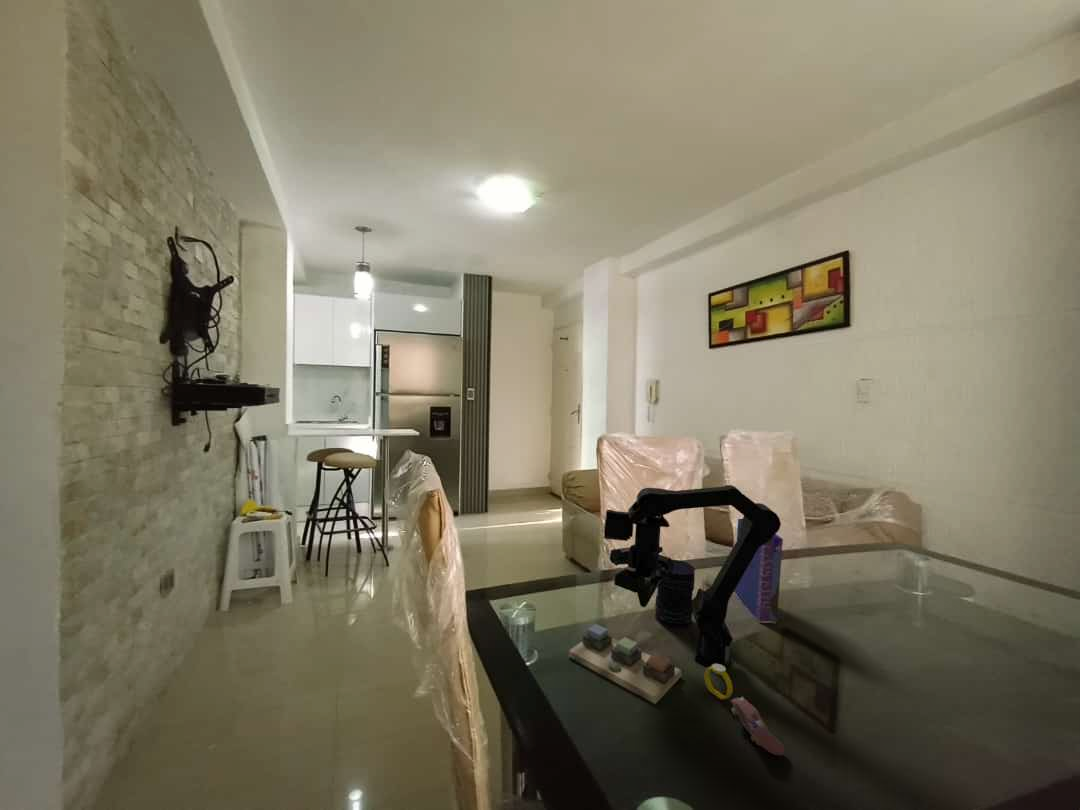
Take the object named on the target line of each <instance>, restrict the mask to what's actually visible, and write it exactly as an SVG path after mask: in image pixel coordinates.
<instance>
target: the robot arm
mask: <svg viewBox="0 0 1080 810" xmlns="http://www.w3.org/2000/svg"><path fill="white" fill-rule="evenodd" d="M723 506H731V507H732V508H734V509H735V510H736V511H738V512H739V513H741V515H743V517H742V519H743V520H742V523H741V530H740V536H739V538H738V540H737V539H736V541H735V543H734V545H733V547H732V549H731V550H730V552H729V554H728V555H727V558H726V560H725V561H724V563H723V565H722V567H721V568H720V570H719V571H718V573H717V575H716V577H715V578H714V580H713V582H712V584H711V586H710V587H709V588H708V589H705V590H703V589H702V588H701V587H699V588H698V589H697V593H696V595H695V596H694V598H692V600H691V602H692V604H693V605H692V612H693V614H692V616H693V618H694V621H695V624H696V626H697V628H698V630H699V632H698V635H697V636H696V641H695V654H696V656H695V657H694V661H695V662H697V663H699V664H701V665H703V666H706V667H707V668H708V667H710V666H712V665H713V664H721V665H723V666H724V667H725V668H727V667H728V666H729V665H730V663H731V662H732V658H731V657H730V647H731V644H732V642H733V640H734V639H733V638H734V637H733V636H732V634H731V632H730V630H729V628H728V626H727V624H726V618H727V613H728V607H729V601H730V599H731V597H733V596H732V595H734V594H733V592H734V590H735V589H736V587H737V585H738V583H739V582H740V580H741V578H742V577H743V575H744V573H745V571H746V570H747V568H748V566H749V564H750V563H751V561H752V559H753V557H754V556H755V554H756V552H757V550H758V549H759V548H760V547H761V546H763V545H764V544H766V543H767V542H769V541H770V540H771V539H772V538H773V536H774V535H775V534H776V535H777V533H778V532H779V530H780V528H781V526H782V522H781V520H780V516H778V514H777V513H776V512H775V511H774V510H772V509H771V508H770V507H769V506H767V505H765V504H764V503H760V502H758V503H757V502H754V501H753V500H752V499H750V498H749V497H748V496H746V495H745V494H744V493H742V492H741V490H740V489H738V488H737V487H736V486H735V485H733V484H731V485H730V484H726V485H723V486H715V487H704V488H702V487H701V488H693V489H682V490H672V489H671V490H670V489H665V488H658V487H645V488H642V489H641V490H639V492H638V494H637V496H636V501H635V502H633V504H632V505H631V506H630V507H629V508H628V510H627V511H619V510H617V511H616V510H613V509H606V510H605V511H606V513H605V520H604V535H603V539H604V540H611V541H612V540H613V541H622V542H623V541H624V542H628V541H629V540H631V538H633V533H634V525H635V535H634V544H632V545H630V546H629V547H622V548H617V549H616V548H614V549H611V550H610V553H609V561H610V563H611V564H613V565H614V566H619V565H621V566H622V565H627V567H628V568H629V569H627V568H625V569H623V570H621V571H619V572H617V573H616V574H615V575H614V579H613V584H614V586H617V587H620V588H623V589H625V590H627V591H630V592H632V593H636V594H637V598H638V601H639V604H640V605H639V606H640V607H642V608H646V607H647V606H648V604H649V602H650V601H651V598H652V597H653V595H654V593H655V591H656V590H657V589H658V585H659V583H660V582H661V580H662V579H663V578H662V577H660V576H658V575H657V574H658V573H657V572H658V570H660V569H661V568H662V567H664V568H666V572H667V573H670V572H671V571H673V570H674V562H673V561H672V560H673V559H672V558H671V557H669V556H665V555H662V554H661V553H662V552H663V547H662V546H660V542H661V541H660V540H661V528H670V524H669V521H668V519H666V518H665V516H664V515H668V514H670V513H673V512H675V511H679V510H686V509H688V510H689V509H699V508H701V509H702V508H711V507H723ZM630 569H634V570H630ZM730 661H731V662H730ZM729 662H730V663H729ZM727 665H728V666H727Z"/></svg>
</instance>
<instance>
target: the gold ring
mask: <svg viewBox="0 0 1080 810" xmlns="http://www.w3.org/2000/svg"><path fill="white" fill-rule="evenodd" d="M726 668H727V667H726ZM726 668H725V667H724V666H723V665H721V664H713V665H712V666H710V667H708V666H707V667H706V669H705V670H704V674H703V677H704V678H703V679H704V683H705V685H706V688H707V689H708V691H709V693H711V694H712V695H714V696H715V697H717V698H718V699H719V700H727V699H728V698H730V697H731V696H732V694H733V682H732V680H731V678H730V675H729V674H728V673H727V669H726ZM711 671H712V673H715V674H716V675H720V676H721V677H722V678H723V679H724V681H725V684H726V688H727V689H726V694H724V695H723V694H722V693H721V692H720V691H718V690H717V689H715V687H714V686H713V684H712V682H711V677H710V672H711Z"/></svg>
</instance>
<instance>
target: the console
mask: <svg viewBox="0 0 1080 810" xmlns="http://www.w3.org/2000/svg"><path fill="white" fill-rule="evenodd" d="M619 641H620V640H618V639H616V638H614V637H613V635H612V634H610V633H608V634H607V637H606V638H605V639H604V640H602V641H601V642H599V641H597V640H595V639H592V638H590V637H588V631H587V632H586V633H584V634H582V641H581V642H579V643H578V644H576V645H575V646H573V647H572V648H571V649H569V650H568V658H570V657H571V658H570V659H572V660H573V659H574V660H573V661H575V660H576V661H575V662H578V664H581V665H582V666H585V667H587V668H588V669H589V670H591V671H594V672H595V673H597V674H599V675H601V676H603V677H605V678H607V679H608V680H610V681H612V682H614V683H615V684H617V685H619V686H621V687H623V688H625V689H627V690H629V691H631V692H632V693H634V694H636V695H638V696H639V697H642V698H643V699H645V700H647V701H649V702H650V703H652V704H654V705H656V704H657V703H658V702H659V701H660V700H661V699H662V698H663V697H664V696H665V695H666V693H667V692H668V691H669V690H670V689H671V688H672V686H674V685H675V683H676V682H678V680H679V679H680V678H681V677H682V669H679V668H678V667H676V664H674V663H672V662H670V667H669V668H668V669H667V670H666V671H665V672H664V673H662V672H660V671H658V670H656V669H654V668H652V667H650V666H648V661H649V657H651V656H652V655H650V654H648V653H646V652H645V651H643V649H642V648H640V647H638V646H637V651H636V652H635V653H634V654H633V655H632V656H631V657H629V656H627V655H625V654H623V653H621V652H619V651H617V650H616V648H617V642H619Z"/></svg>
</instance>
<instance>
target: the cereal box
mask: <svg viewBox="0 0 1080 810" xmlns="http://www.w3.org/2000/svg"><path fill="white" fill-rule="evenodd" d="M737 519H738V520H737V533H736V541H737V540H738V538H739V536H740V530H741V523H742V520H743V518H737ZM783 541H784V538H782V537H781V536H779V535H778V534H777V533H776V534H775V535H774V536H773V538H772V539H771V540H770V541H769V542H767V543H766V544H764V545H763V546H761V547H760V548H759V549H758V550H757V552H756V554H755V556H754V557H753V559H752V561H751V563H750V564H749V566H748V568H747V570H746V571H745V573H744V575H743V577H742V578H741V580H740V582H739V583H738V585H737V587H736V589H735V590H734V591H735V593H736V594H737V596H738V597H739V599H740V600H741V601H742V603H743V604H744V605H745V606H746V607H747V608H748V609H749V611H751V613H752V614H753V615H754V616H755V617H756V618H757V619H758V620H759V621H772V622H777V623H778V612H779V610H778V609H779V597H780V596H779V595H780V583H781V582H780V581H781V571H782V557H783V556H782V555H783V543H784V542H783ZM739 599H738V600H739ZM742 603H741V604H742ZM743 604H742V605H743ZM744 605H743V606H744ZM745 606H744V607H745ZM746 607H745V608H746ZM749 611H748V612H749ZM751 613H750V614H751ZM752 614H751V615H752ZM753 615H752V616H753Z"/></svg>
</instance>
